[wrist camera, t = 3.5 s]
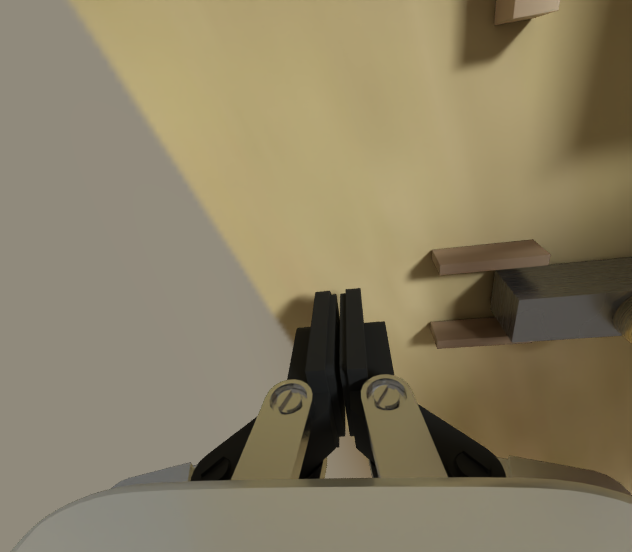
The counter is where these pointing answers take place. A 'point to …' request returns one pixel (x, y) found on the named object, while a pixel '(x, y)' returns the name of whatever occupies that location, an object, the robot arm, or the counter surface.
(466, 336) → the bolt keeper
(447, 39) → the counter surface
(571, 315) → the bar
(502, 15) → the bolt guide rails
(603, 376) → the counter surface
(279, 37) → the counter surface
